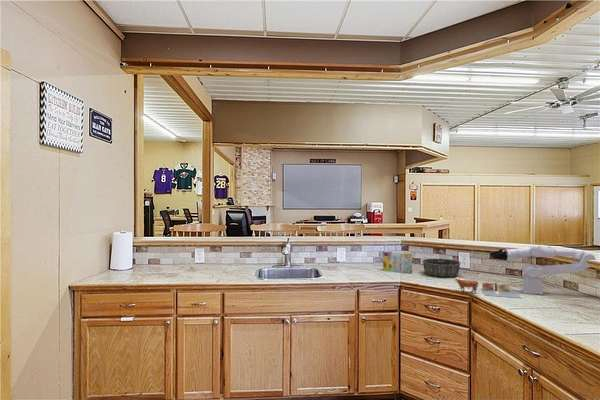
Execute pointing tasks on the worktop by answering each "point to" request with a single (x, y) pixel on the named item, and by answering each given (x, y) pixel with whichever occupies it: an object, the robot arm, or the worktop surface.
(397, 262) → the snack box
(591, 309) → the worktop surface
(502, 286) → the fence fixed
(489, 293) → the card
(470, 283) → the bull figurine
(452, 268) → the dark grey woven basket
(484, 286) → the fence hinged
